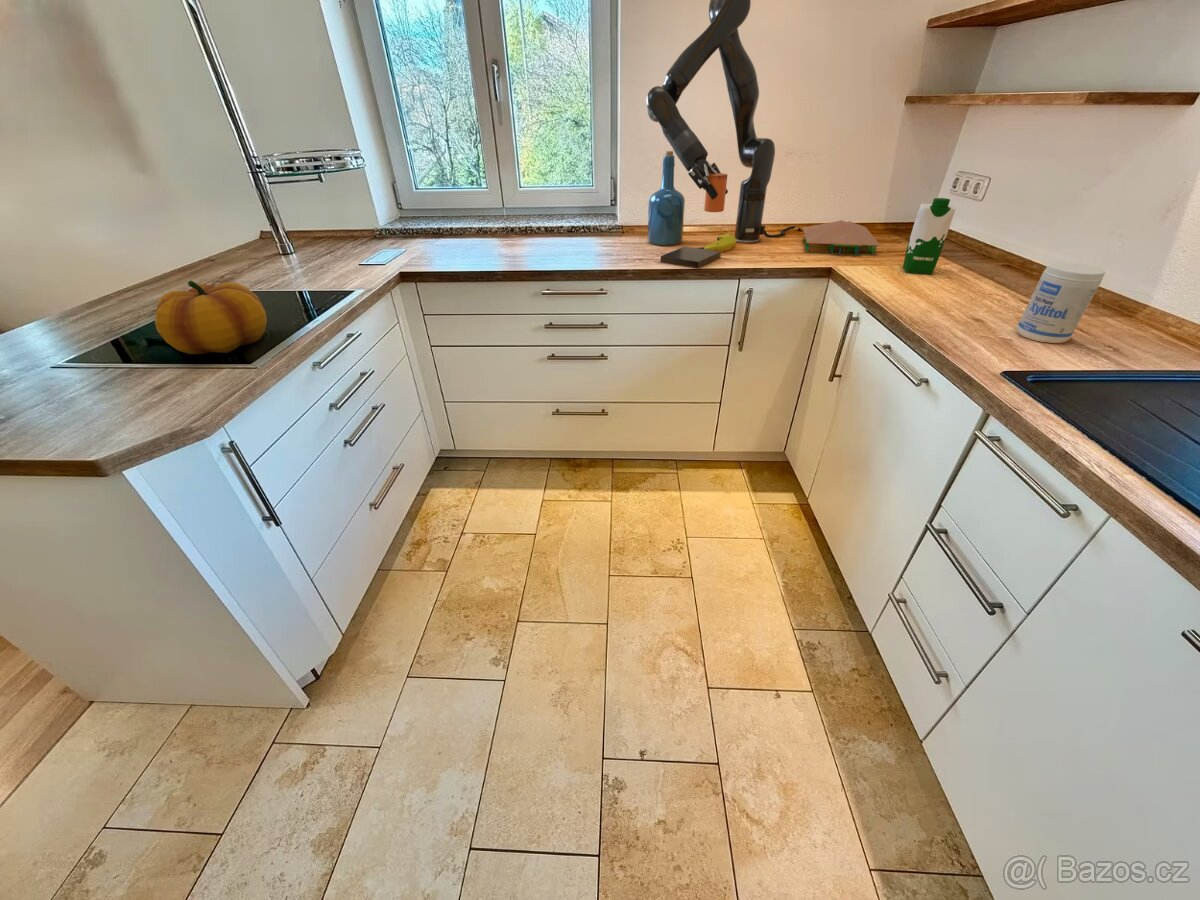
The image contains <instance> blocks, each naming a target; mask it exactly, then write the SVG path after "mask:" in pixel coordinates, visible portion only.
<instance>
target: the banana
mask: <svg viewBox="0 0 1200 900" xmlns="http://www.w3.org/2000/svg"><path fill="white" fill-rule="evenodd" d="M736 243H738V242H737V239H736V238H735V235H732V234H731V233H724V234H723V235H720V236H718V237H717V239H716V241H715V242H712V243H709V244H707V245H705V246H700V247H698V248H699V249H706V250H713V251H721V253H725V252H728V251H731V249H732V248H733V247H734V246H735V245H736Z"/></svg>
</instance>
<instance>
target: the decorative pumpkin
mask: <svg viewBox="0 0 1200 900" xmlns="http://www.w3.org/2000/svg"><path fill="white" fill-rule="evenodd" d="M187 285H188V286H189V287H191V288H190V289H189V290H172V291H169V292H167V293H164V294H163V295H162V296H161V298H160V299H159V300H158V302H157V305H156V309H155V317H154V324H155V328H156V331H157V333H158V334H159V336H161V337H162V339H163V340H164V341H165V342H166V343H167V345H169V346H171V347H172V348H174V349H175V350H176V351H179V352H182V353H184V354H188V355H206V354H209V353H217V354H228V353H230V352H232V351H235V350H236V349H237V348H239V347H243V346H248V345H251V344H254V343H256V342H257V341H259V340H261V338H262V337H263V335H264V334H265V331H266V326H267V322H268V320H267V314H266V313H267V312H266V309H265V308H264V305H263V303H262V301H261V300H260V298H259V297H258V295H256V294H255V293H254V292H253V291H251V290H250V289H249V288H248V287H247V286H245V285H243V284H241V283H237V282H224V283H221V284H218V285H211V284H205V283H197V282H195V281H193V280H189V281H188V282H187Z"/></svg>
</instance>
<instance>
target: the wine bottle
mask: <svg viewBox="0 0 1200 900" xmlns="http://www.w3.org/2000/svg"><path fill="white" fill-rule="evenodd" d="M664 154H665V155H664V156H663V160H662V166H661V167H662V175H661V187H659V189H658V190H656V191H655V192H654V193H652V194H651V195H650V198H649V199H648V213H647V214H648V215H647V216H648V217H647V241H648V243H650V244H652V245H655V246H675V245H678V244H681V242H682V241H683V238H684V226H685V225H684V224H685V209H686V198H685V196H684V194H683V193H682V192H681V191H679V190H678V189H676V188H675V167H676V160H675V155H674V150H666V151H665V153H664Z"/></svg>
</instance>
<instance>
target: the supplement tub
mask: <svg viewBox="0 0 1200 900" xmlns="http://www.w3.org/2000/svg"><path fill="white" fill-rule="evenodd" d="M1105 274H1106V270H1105V269H1104V268H1102V267H1099V266H1096V265H1092V264H1088V263H1082V262H1074V261H1052V262H1049V263H1048V264H1047V266H1046V267H1045V269H1044V271H1043V272H1042V275H1041V276H1040V278H1039V280H1038V282H1037V284H1036V286H1035V288H1034V291H1033V292H1032V294H1031V297H1030V299H1029V301H1028V302H1027V305H1026V307H1025V309H1024V311H1023V313H1022V315H1021V317H1020V319H1019V322H1018V324H1017V326H1016V332H1017V333H1018V334H1019V335H1020V336H1022V337H1024V338H1026V339H1029V340H1033V341H1036V342H1041V343H1050V344H1061V343H1065V342H1067V341H1069V340H1070V339H1071V338H1072V336H1073V334H1074V332H1075V330H1076V329H1077V327H1078V325H1079V323H1080V322H1081V320H1082V318H1083V316H1084V314H1085V312H1086V311H1087V309H1088V307H1089V305H1090V303H1091V302H1092V300H1093V298H1094V296H1095V294H1096V293H1097V291H1098V289H1099V288H1100V285H1101V284H1102V281H1103V280H1104V276H1105Z"/></svg>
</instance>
